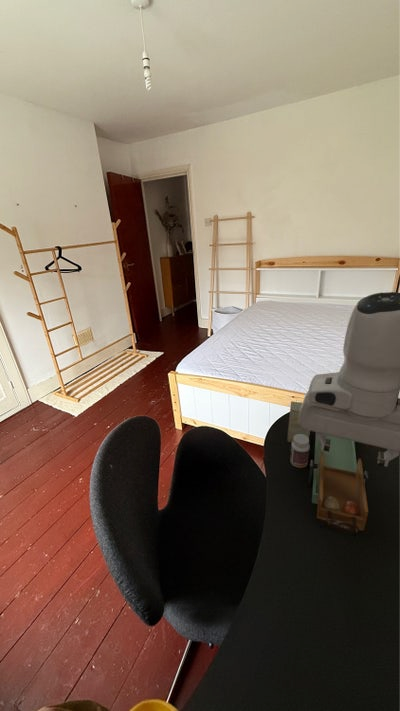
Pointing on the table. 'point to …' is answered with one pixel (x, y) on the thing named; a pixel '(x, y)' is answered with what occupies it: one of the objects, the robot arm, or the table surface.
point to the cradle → (323, 522)
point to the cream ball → (330, 503)
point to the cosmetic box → (295, 422)
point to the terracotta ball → (350, 508)
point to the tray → (334, 458)
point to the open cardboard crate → (342, 496)
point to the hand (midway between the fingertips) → (352, 455)
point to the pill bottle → (300, 451)
